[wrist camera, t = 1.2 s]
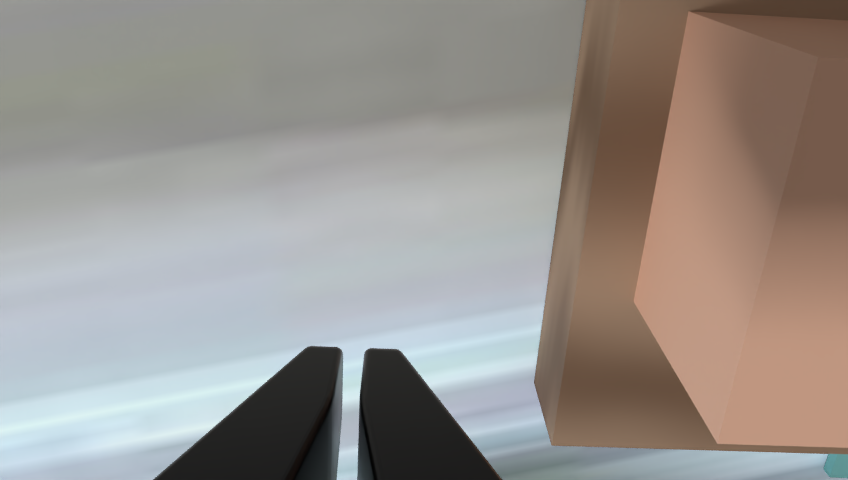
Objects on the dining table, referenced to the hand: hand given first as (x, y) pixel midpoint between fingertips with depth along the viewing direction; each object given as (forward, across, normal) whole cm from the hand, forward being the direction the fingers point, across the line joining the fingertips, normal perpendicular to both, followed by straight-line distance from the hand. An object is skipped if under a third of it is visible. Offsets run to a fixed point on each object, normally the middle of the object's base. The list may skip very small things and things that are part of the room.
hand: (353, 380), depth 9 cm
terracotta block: (+9, -10, 0) cm, 13 cm away
